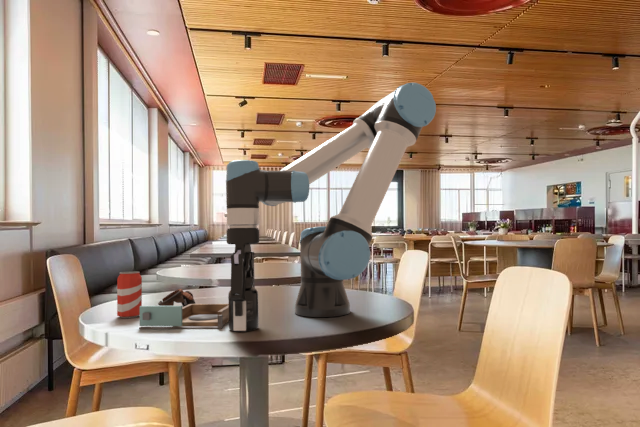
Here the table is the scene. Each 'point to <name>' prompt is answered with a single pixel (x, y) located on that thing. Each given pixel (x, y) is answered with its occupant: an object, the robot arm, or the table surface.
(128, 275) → the beverage can
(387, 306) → the table surface
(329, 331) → the table surface
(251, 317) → the supplement bottle
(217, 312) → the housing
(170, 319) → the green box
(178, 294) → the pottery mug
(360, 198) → the robot arm
